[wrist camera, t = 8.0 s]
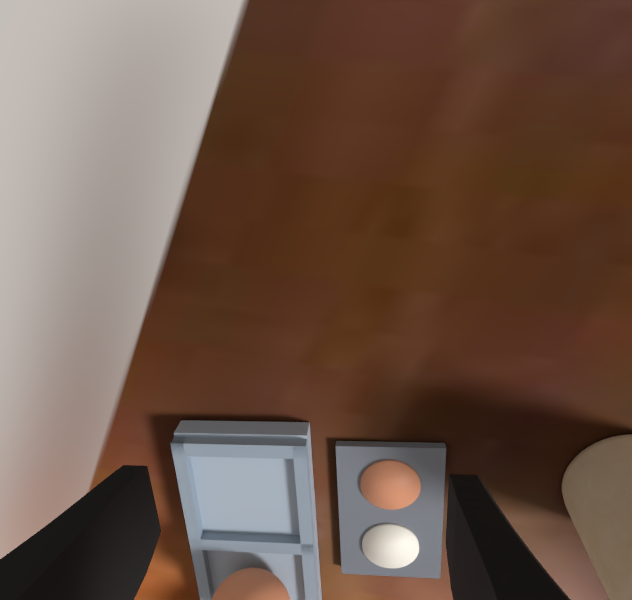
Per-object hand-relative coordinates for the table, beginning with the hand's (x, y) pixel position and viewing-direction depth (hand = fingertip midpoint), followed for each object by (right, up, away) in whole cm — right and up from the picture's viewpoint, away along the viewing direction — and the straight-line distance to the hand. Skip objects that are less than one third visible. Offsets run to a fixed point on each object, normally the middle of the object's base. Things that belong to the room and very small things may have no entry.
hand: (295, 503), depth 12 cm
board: (-2, -10, +16) cm, 19 cm away
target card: (+4, -5, +13) cm, 15 cm away
